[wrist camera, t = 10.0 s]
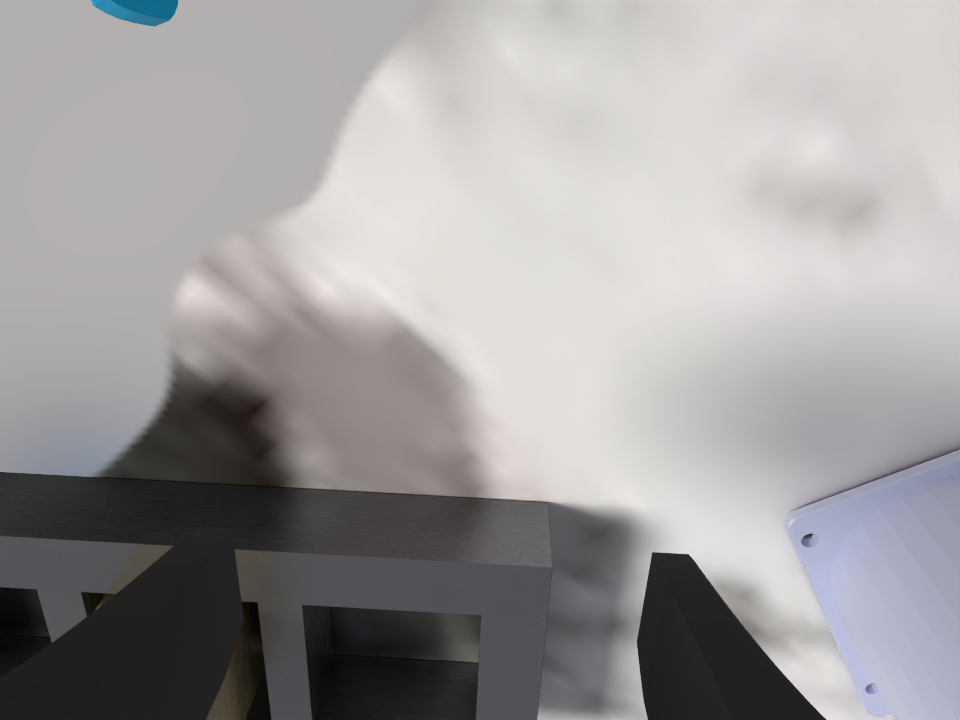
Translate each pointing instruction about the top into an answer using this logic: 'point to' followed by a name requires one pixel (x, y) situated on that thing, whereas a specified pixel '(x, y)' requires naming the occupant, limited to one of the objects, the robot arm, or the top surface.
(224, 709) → the tan rectangular block
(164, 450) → the top surface
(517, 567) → the grey compartment tray
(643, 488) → the top surface
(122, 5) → the gear
